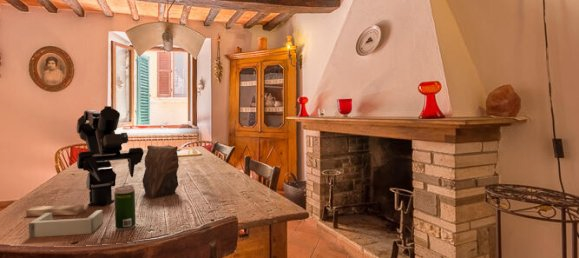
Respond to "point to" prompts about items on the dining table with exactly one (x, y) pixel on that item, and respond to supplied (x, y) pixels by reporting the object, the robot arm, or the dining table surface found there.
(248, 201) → the dining table surface
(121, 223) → the guarana soda can
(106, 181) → the robot arm
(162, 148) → the brown paper bag
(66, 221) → the beige u-shaped bracket
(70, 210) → the slat
